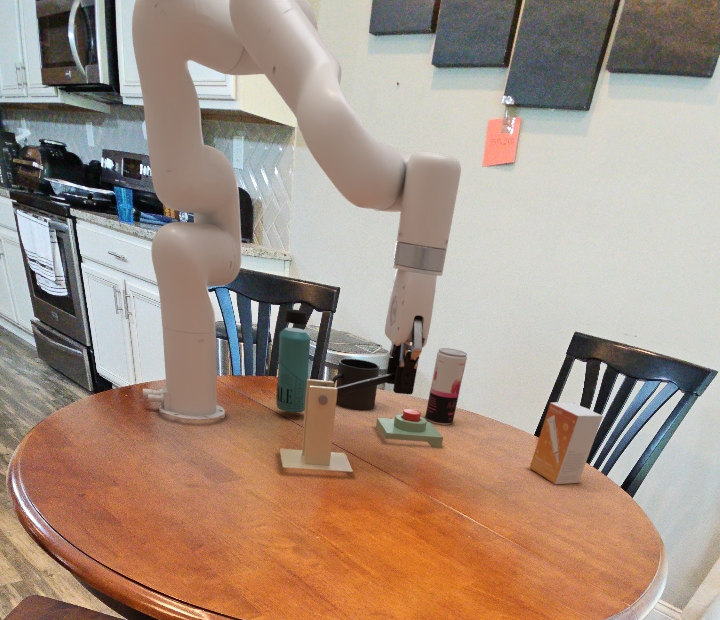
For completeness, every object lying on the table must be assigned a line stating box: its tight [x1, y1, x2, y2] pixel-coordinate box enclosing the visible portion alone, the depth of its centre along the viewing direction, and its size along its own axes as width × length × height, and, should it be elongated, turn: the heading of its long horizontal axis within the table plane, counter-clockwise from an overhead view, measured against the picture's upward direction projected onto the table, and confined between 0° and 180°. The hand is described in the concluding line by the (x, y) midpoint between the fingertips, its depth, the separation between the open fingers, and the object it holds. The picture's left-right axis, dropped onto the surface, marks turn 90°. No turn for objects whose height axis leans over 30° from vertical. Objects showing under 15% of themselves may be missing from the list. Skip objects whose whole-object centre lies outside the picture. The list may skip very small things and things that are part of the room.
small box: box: [529, 401, 604, 485], centre depth 112 cm, size 8×6×13 cm
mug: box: [331, 358, 381, 411], centre depth 135 cm, size 9×12×9 cm
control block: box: [375, 413, 444, 449], centre depth 123 cm, size 12×10×4 cm
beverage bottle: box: [275, 308, 312, 413], centre depth 120 cm, size 6×7×20 cm
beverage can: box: [424, 347, 468, 426], centre depth 133 cm, size 7×6×15 cm
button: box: [402, 408, 422, 422], centre depth 121 cm, size 4×4×2 cm
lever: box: [322, 366, 397, 395], centre depth 96 cm, size 16×5×2 cm, turn 100°
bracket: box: [279, 378, 354, 473], centre depth 99 cm, size 12×9×14 cm
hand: (398, 387), depth 98 cm, fingers closed on lever, 5 cm apart
